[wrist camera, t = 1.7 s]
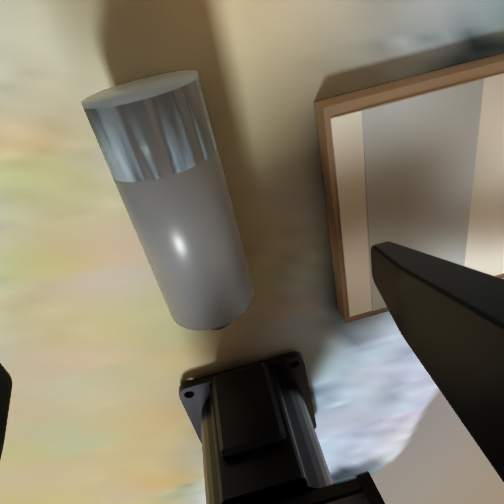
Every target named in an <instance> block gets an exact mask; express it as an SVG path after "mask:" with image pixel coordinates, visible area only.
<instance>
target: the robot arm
mask: <svg viewBox="0 0 504 504" xmlns="http://www.w3.org/2000/svg"><path fill="white" fill-rule="evenodd" d="M371 269H372V277H373V281H374V283H375V285H376V287H377V289H378V291H379V293H380V295H381V296H382V298H383V300H384V302H385V304H386V306H387V308H388V310H389V312H390V314H391V315H392V317H393V319H394V321H395V323H396V325H397V327H398V329H399V330H400V332H401V334H402V335H403V337H404V339H405V340H406V342H407V343H408V345H409V346H410V347H411V349H412V350H413V352H414V353H415V355H416V356H417V358H418V359H419V360H420V362H421V363H422V365H423V366H424V368H425V369H426V371H427V372H428V373H429V375H430V376H431V378H432V379H433V381H434V382H435V384H436V385H437V386H438V388H439V389H440V391H441V392H442V394H443V395H444V396H445V398H446V400H447V401H448V402H449V404H450V405H451V407H452V408H453V410H454V411H455V413H456V414H457V415H458V417H459V418H460V419H461V421H462V423H463V424H464V426H465V427H466V428H467V430H468V431H469V433H470V434H471V436H472V437H473V438H474V440H475V441H476V443H477V444H478V446H479V447H480V449H481V450H482V451H483V453H484V454H485V456H486V457H487V459H488V460H489V462H490V463H491V465H492V466H493V467H494V469H495V470H496V472H497V473H498V475H499V476H500V477H501V479H502V480H503V482H504V279H501V278H498V277H495V276H492V275H489V274H486V273H483V272H480V271H477V270H474V269H471V268H468V267H465V266H462V265H459V264H456V263H453V262H450V261H447V260H444V259H441V258H438V257H435V256H432V255H429V254H426V253H423V252H420V251H417V250H414V249H411V248H408V247H405V246H402V245H399V244H396V243H393V242H390V241H386V242H382V243H378V244H375V245H373V246H372V247H371ZM293 361H294V362H293ZM11 390H12V379H11V377H10V375H9V373H8V372H7V371H6V370H5V368H4V367H3V366H2V365H1V363H0V459H1V454H2V450H3V444H4V439H5V432H6V425H7V418H8V411H9V404H10V397H11ZM188 391H190V392H188ZM179 397H180V399H181V402H182V404H183V406H184V408H185V410H186V412H187V414H188V416H189V418H190V420H191V422H192V424H193V426H194V429H195V431H196V433H197V435H198V437H199V439H200V441H201V443H202V451H203V464H204V478H205V491H206V504H385V503H384V501H383V499H382V497H381V495H380V493H379V491H378V489H377V487H376V485H375V483H374V482H373V480H372V478H371V476H370V474H369V472H368V471H366V472H362V473H359V474H356V475H355V476H356V477H354V478H351V479H348V480H344V481H341V482H338V483H334V484H333V482H332V479H331V476H330V473H329V470H328V467H327V464H326V461H325V459H324V456H323V453H322V450H321V447H320V444H319V441H318V438H317V435H316V433H315V430H314V429H315V428H316V421H315V416H314V411H313V406H312V401H311V396H310V391H309V386H308V381H307V375H306V370H305V365H304V361H303V358H302V356H301V354H300V353H298V352H289V353H286V354H282V355H279V356H275V357H272V358H268V359H265V360H261V361H258V362H254V363H251V364H247V365H244V366H240V367H237V368H233V369H230V370H226V371H223V372H219V373H216V374H212V375H209V376H205V377H202V378H198V379H195V380H191V381H188V382H185V383H183V384H182V385H180V387H179Z"/></svg>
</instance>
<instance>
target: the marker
mask: <svg viewBox="0 0 504 504" xmlns="http://www.w3.org/2000/svg"><path fill="white" fill-rule="evenodd" d="M82 105H83V108H84V110H85V112H86V115H87V117H88V120H89V122H90V124H91V127H92V129H93V131H94V134H95V136H96V138H97V141H98V143H99V146H100V148H101V150H102V153H103V155H104V157H105V160H106V162H107V164H108V167H109V169H110V171H111V174H112V176H113V179H114V181H115V183H116V186H117V188H118V190H119V193H120V195H121V197H122V200H123V202H124V204H125V207H126V209H127V212H128V214H129V216H130V219H131V221H132V223H133V226H134V228H135V230H136V233H137V235H138V238H139V240H140V242H141V245H142V247H143V249H144V252H145V254H146V256H147V259H148V261H149V263H150V266H151V268H152V271H153V273H154V275H155V278H156V280H157V282H158V285H159V287H160V289H161V292H162V294H163V297H164V299H165V301H166V304H167V306H168V308H169V311H170V313H171V315H172V318H173V319H174V321H175V322H176V323H177V324H179V325H180V326H182V327H184V328H187V329H192V330H208V329H211V330H218V329H222V328H224V327H226V326H228V325H229V324H230V323H231V322H232V321H234V320H235V319H237V318H238V317H239V316H241V315H242V314H243V313H244V312H245V311H246V310H247V309H248V308H249V306H250V305H251V303H252V301H253V298H254V287H253V283H252V279H251V275H250V271H249V267H248V264H247V260H246V256H245V252H244V248H243V244H242V240H241V237H240V233H239V229H238V225H237V221H236V217H235V213H234V210H233V206H232V202H231V198H230V194H229V190H228V186H227V182H226V179H225V175H224V171H223V167H222V163H221V159H220V155H219V152H218V148H217V144H216V140H215V136H214V132H213V128H212V125H211V121H210V117H209V113H208V109H207V105H206V101H205V98H204V94H203V90H202V86H201V82H200V78H199V74H198V71H196V70H183V71H175V72H169V73H163V74H159V75H154V76H150V77H146V78H142V79H138V80H134V81H131V82H127V83H124V84H121V85H117V86H114V87H111V88H109V89H106V90H103V91H101V92H98V93H96V94H94V95H91V96H89V97H87V98H86V99H84V100H83V101H82Z"/></svg>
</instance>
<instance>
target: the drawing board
mask: <svg viewBox="0 0 504 504" xmlns="http://www.w3.org/2000/svg"><path fill="white" fill-rule="evenodd" d="M314 105H315V114H316V123H317V131H318V140H319V149H320V157H321V166H322V175H323V183H324V192H325V201H326V209H327V218H328V227H329V235H330V244H331V252H332V261H333V270H334V278H335V287H336V296H337V304H338V310H339V312H340V314H341V316H342V317H343V319H344V321H345V323H347V322H351V321H354V320H358V319H361V318H365V317H368V316H372V315H375V314H379V313H382V312H386V311H389V310H388V308H387V306H386V304H385V302H384V300H383V298H382V296H381V295H380V293H379V291H378V289H377V287H376V285H375V283H374V281H373V277H372V269H371V247H372V246H373V245H375V244H378V243H382V242H386V241H390V242H393V243H396V244H399V245H402V246H405V247H408V248H411V249H414V250H417V251H420V252H423V253H426V254H429V255H432V256H435V257H438V258H441V259H444V260H447V261H450V262H453V263H456V264H459V265H462V266H465V267H468V268H471V269H474V270H477V271H480V272H483V273H486V274H489V275H492V276H495V277H498V278H501V279H502V278H504V53H501V54H497V55H493V56H489V57H486V58H482V59H478V60H474V61H470V62H466V63H463V64H459V65H455V66H451V67H447V68H443V69H439V70H436V71H432V72H428V73H424V74H420V75H416V76H412V77H409V78H405V79H401V80H397V81H393V82H389V83H386V84H382V85H378V86H374V87H370V88H366V89H362V90H359V91H355V92H351V93H347V94H343V95H339V96H336V97H332V98H328V99H324V100H320V101H316V102H314Z"/></svg>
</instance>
